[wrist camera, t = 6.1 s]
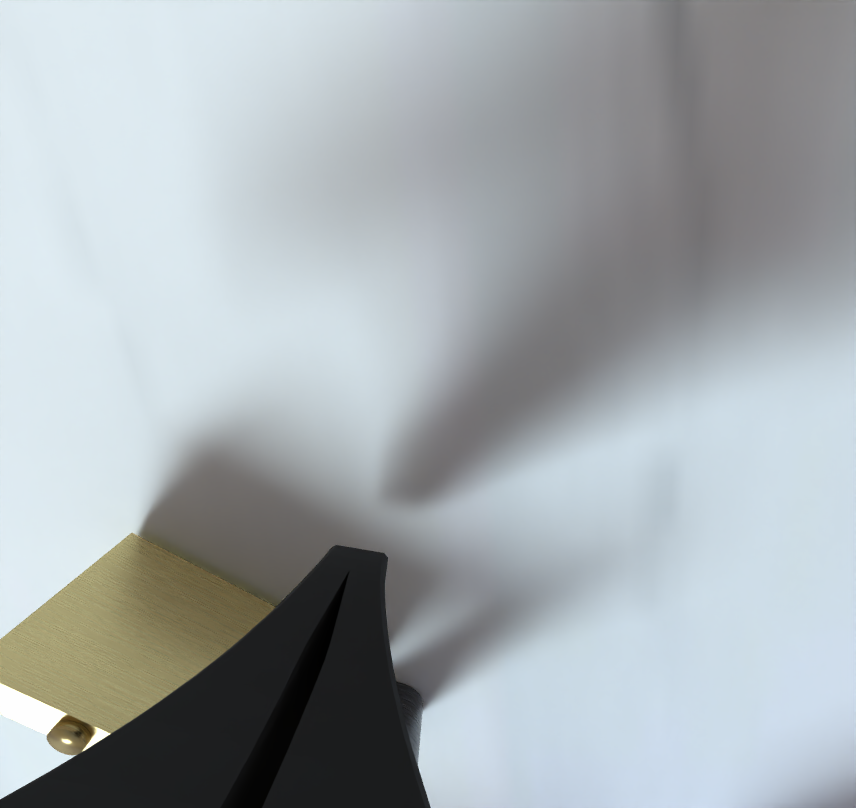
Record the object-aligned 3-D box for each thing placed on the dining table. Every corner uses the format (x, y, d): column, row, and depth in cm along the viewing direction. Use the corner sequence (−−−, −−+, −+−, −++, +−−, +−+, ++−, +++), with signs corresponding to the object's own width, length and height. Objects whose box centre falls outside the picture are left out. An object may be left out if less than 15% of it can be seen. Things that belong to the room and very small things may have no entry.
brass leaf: (381, 661, 14) (342, 853, 9) (367, 679, 14) (323, 872, 9) (131, 532, 13) (-46, 676, 8) (122, 554, 13) (-53, 704, 9)
